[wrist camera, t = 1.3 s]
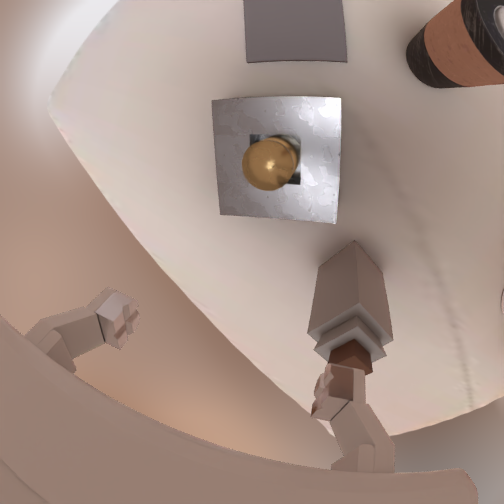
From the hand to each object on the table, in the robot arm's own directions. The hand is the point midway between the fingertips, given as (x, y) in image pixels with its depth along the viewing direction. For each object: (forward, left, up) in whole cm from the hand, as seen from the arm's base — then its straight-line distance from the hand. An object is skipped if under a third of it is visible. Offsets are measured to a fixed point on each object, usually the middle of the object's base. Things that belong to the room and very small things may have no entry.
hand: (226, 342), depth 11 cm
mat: (+1, -21, -28) cm, 35 cm away
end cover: (+3, -3, -27) cm, 27 cm away
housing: (+3, -3, -28) cm, 28 cm away
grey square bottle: (-7, +13, -28) cm, 32 cm away
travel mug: (-16, -17, -28) cm, 36 cm away
